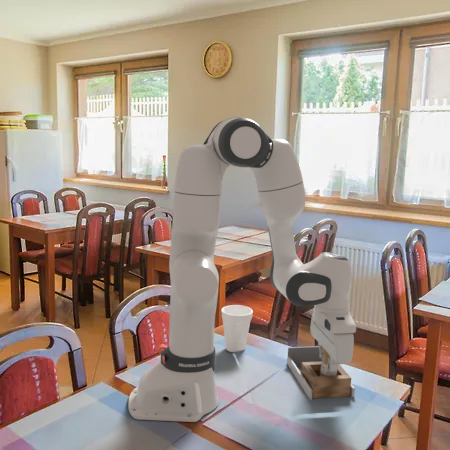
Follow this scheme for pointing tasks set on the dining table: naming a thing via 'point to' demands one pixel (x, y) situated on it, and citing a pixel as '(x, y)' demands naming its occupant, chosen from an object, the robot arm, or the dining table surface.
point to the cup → (236, 326)
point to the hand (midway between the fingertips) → (327, 364)
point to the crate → (326, 381)
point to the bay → (305, 355)
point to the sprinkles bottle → (326, 365)
